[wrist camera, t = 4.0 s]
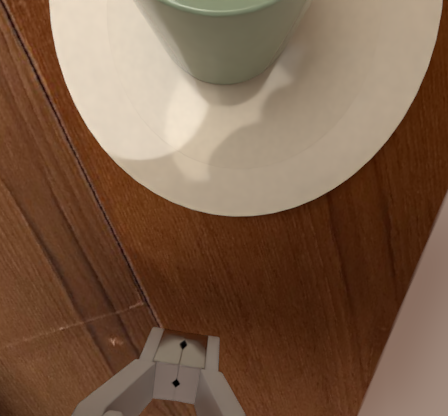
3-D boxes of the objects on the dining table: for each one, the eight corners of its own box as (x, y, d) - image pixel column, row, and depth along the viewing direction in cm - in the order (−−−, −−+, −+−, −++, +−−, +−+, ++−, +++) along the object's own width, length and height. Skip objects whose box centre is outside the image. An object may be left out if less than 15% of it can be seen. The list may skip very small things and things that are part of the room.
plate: (461, -126, 11) (527, -204, 8) (344, 226, 15) (365, 241, 13) (82, -207, 10) (38, -315, 8) (80, 181, 15) (52, 187, 12)
